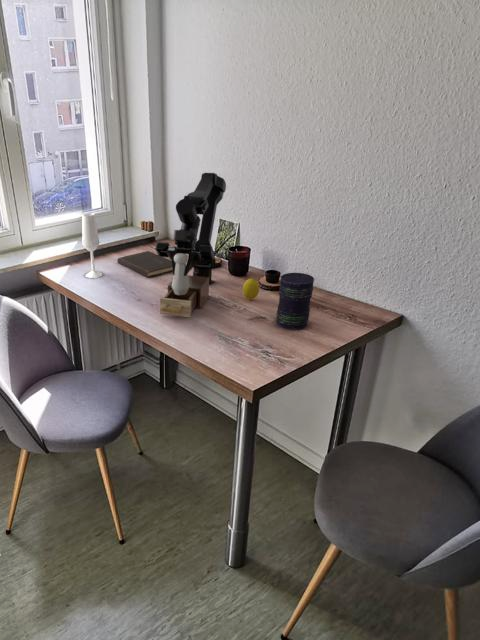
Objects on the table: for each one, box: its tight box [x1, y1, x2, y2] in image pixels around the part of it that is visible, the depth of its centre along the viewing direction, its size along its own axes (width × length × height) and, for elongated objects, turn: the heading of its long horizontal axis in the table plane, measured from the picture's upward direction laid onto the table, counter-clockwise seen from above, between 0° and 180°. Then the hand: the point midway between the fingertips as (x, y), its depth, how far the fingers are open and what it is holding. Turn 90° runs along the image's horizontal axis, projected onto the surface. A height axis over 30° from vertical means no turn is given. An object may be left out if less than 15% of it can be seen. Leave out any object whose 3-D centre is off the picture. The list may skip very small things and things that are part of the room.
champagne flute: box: [81, 212, 103, 279], centre depth 197 cm, size 7×7×24 cm
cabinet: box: [167, 274, 210, 309], centre depth 176 cm, size 12×12×7 cm
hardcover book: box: [117, 250, 173, 278], centre depth 210 cm, size 16×23×2 cm
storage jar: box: [275, 272, 315, 331], centre depth 155 cm, size 10×10×15 cm
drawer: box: [159, 289, 197, 318], centre depth 166 cm, size 15×10×5 cm
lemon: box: [242, 277, 260, 301], centre depth 174 cm, size 6×6×8 cm
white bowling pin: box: [172, 253, 190, 295], centre depth 163 cm, size 6×6×13 cm
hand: (179, 275), depth 162 cm, fingers closed on white bowling pin, 3 cm apart
